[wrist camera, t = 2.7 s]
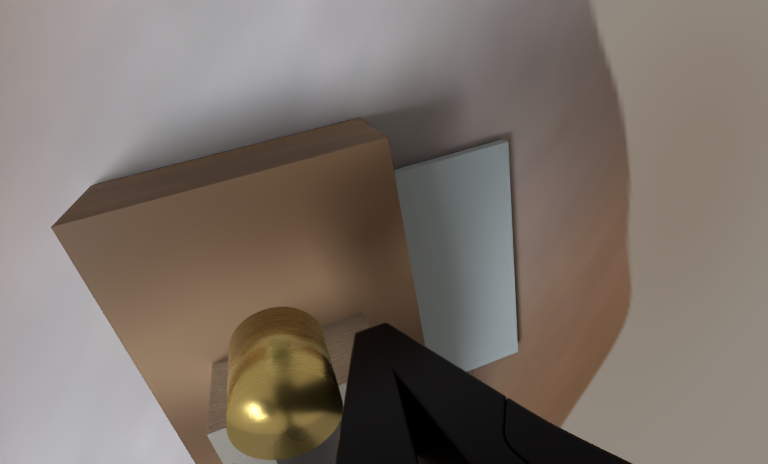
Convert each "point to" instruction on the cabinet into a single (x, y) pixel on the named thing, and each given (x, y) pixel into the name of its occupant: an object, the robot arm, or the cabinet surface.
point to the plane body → (242, 254)
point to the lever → (282, 389)
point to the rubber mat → (462, 252)
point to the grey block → (233, 460)
